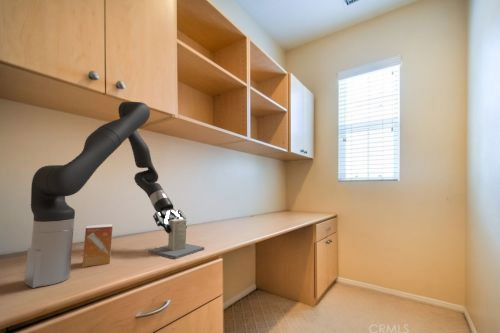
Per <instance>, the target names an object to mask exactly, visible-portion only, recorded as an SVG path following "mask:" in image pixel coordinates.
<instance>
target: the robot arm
mask: <svg viewBox="0 0 500 333" xmlns="http://www.w3.org/2000/svg"><path fill="white" fill-rule="evenodd" d="M117 113H118V116H119V118H118V119H117V118H116V119H115V120H112V121H109V122H107V123H104V124H102V125H101V126H99V127H98V128H96V129H95V130H94V131H92V132H91V133H90V134H89V135H88V136H87V137H86V139H85V142H84V145H83V149H82V151H81V152H80V153H79V154H78V155H76V156H75V158H74V159H72V160H71V161H69V162H68V163H66V164H60V165H57V164H56V165H55V164H53V165H49V164H48V165H45V166H42V167H40V168H38V169H37V170H36V172H35V173H34V174H33V177H32V179H31V188H30V189H31V191H30V192H31V193H30V210H31V213H32V214H33V220H32V221H33V222H32V233H31V243H30V247H28V248H27V254H26V261H25V262H26V264H25V273H24V274H25V275H24V282H23V283H24V284H25V285H27V286H29V287H30V288H31V289H34V288H39V287H45V286H51V285H55V284H58V283H62V282H64V281H66V280H68V279H69V278H70V276H71V269H72V266H71V265H72V253H73V239H74V227H75V216H76V215H75V214H76V211H75V209H74V208H73V207H71V206H70V205H68V203H67V202H66V197H70V196H73V195H75V194H76V193H78V192H80V191H81V190H82V189H83V187H84V186H85V185H86V184H87V182H88V181H89V180H90V178H91V177H92V176H93V174H94V173H95V172H96V171H97V169H98V168H99V167H100V166H101V165H102V164H103V163H105V161H106V160H107V159H108V158H109V157H110V156H111V155H112V154H113V153H114V152H115V151H116V150H117V149H118V148H119V147H120V146H121V145H122V144H123V143H124V142H125V141H126V140H127V139H128V141H129V143H130V147H131V150H132V154H133V158H134V163H135V166H136V167H137V168H139V169H146V170H141V171H139V172H136V173H135V174H134V179H133V180H134V182H135V183H136V185H137V186H138V187H139V188H140V189H141V190H143V191H144V192H145V194H146V195H147V197H148V198H149V201H150V203H151V205H152V207H153V209H154V210H155V212H154V214H153V216H152V217H153V220H154V221H155V223H156V226H157V227H162V228H163V229H164V231H165V233H167V234H168V235H169V233H170V232H171V231H172V230H171V228H170V226H169V220H174V219H186V220H187V217H186V216H185V215H184V213H183V211H182V210H181V209H178V210H175V208H174V204H173V202H172V200H170V197H169V196H168V194H167V193H166V192H165V190H164V189H163V186H161V184H160V183H158V180H159V174H158V172H157V170H156V168H155V167H154V165H153V161H152V157H151V153H150V152H151V151H150V148H149V146H148V145H147V143H146V141H145V140H144V139H143V138H142V136H141V135H140V134H139V132H138V129H140V128H141V127H142V126H143V125H145V124H146V123H147V121H148V120H149V118H150V115H151V110H150V107H149V106H148V104H146V103H144V102H142V101H122V102H120V104H119V105H118V112H117ZM186 229H188V226H187V225H186Z"/></svg>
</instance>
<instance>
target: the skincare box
mask: <svg viewBox="0 0 500 333" xmlns="http://www.w3.org/2000/svg"><path fill="white" fill-rule="evenodd" d="M168 225H169V226H170V228H171V230H172V231H171V232H170V233H169V234H168V240H167V242H168V243H167V245H168V249H170V250H172V251H173V250H178V249H183V248H186V244H187V228H186V226H187V218H186V219H177V218H175V219H174V220H169V221H168Z"/></svg>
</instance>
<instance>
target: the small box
mask: <svg viewBox="0 0 500 333" xmlns="http://www.w3.org/2000/svg"><path fill="white" fill-rule="evenodd" d="M112 240H113V223H106V224H105V223H104V224H94V225H93V224H92V225H86V226H85V232H84V243H83V245H84V246H83V253H82V254H83V255H82V268H86V267H91V266H101V265H107V264H108V265H109V264H110V263H111V255H112V254H111V253H112Z"/></svg>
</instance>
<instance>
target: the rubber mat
mask: <svg viewBox="0 0 500 333" xmlns="http://www.w3.org/2000/svg"><path fill="white" fill-rule="evenodd" d="M204 250H205V246H199V245H195V244H188V243H186V248H183V249H178V250H173V251H172V250H170V249H168V244H166V245H164V246H159V247H156V248H152V249H149V250H148V253H149V254H152V255H153V254H154V255H158V256H162V257H165V258H170V259H174V260H176V259H180V258H183V257H187V256H189V255H192V254H195V253H198V252H202V251H204Z"/></svg>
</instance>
